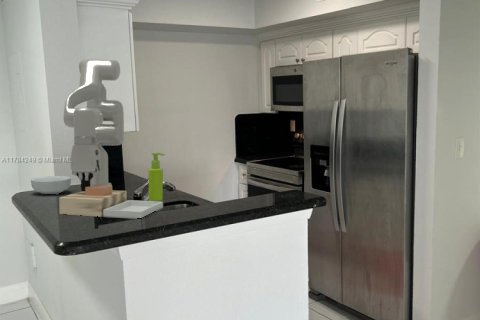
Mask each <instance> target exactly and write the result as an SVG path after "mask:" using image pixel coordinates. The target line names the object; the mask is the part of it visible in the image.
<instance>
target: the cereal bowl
mask: <svg viewBox="0 0 480 320" xmlns="http://www.w3.org/2000/svg"><path fill="white" fill-rule="evenodd" d="M30 183H31V188H32V189H33V190H34V191H35V192H37V193H40V194H41V195H43V194H56V195H60V194H59V193H61V192H62V193H63V192H64V191H66V190H68V189H69V188H70V187H71V184H72V179H71V177H70V176H65V175H63V176H61V175H60V176H59V175H53V176H51V175H50V176H41V177H33V178H32V179H31V180H30ZM62 193H61V194H62Z"/></svg>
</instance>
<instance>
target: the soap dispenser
mask: <svg viewBox="0 0 480 320" xmlns="http://www.w3.org/2000/svg"><path fill="white" fill-rule="evenodd" d="M158 155H160V156H165V155H166V154H165V153H163V152H153V153H151V156H153V159H152V160H151V168H149V169H148V201H157V202H163V200H164V197H163V196H164V191H163V190H164V188H163V185H164V184H163V183H164V179H163V177H164V176H163V175H164V174H163V171H164V170H163V168H161V167H160V165H161V164H160V163H161V162H160V160H158V159H159V158H158Z"/></svg>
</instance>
